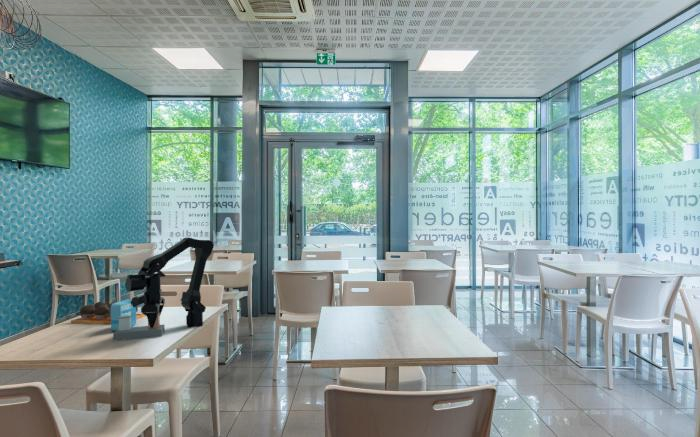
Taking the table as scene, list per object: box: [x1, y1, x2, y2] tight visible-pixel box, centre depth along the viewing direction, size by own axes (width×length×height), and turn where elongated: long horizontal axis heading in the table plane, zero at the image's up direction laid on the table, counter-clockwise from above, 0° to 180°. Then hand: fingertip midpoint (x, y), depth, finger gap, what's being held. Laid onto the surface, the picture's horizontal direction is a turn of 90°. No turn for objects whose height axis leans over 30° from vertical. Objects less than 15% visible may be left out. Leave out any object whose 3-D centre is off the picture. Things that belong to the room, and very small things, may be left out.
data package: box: [110, 299, 137, 332], centre depth 191 cm, size 12×4×12 cm, turn 175°
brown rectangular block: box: [147, 313, 161, 329], centre depth 179 cm, size 4×3×8 cm
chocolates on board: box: [70, 301, 147, 325], centre depth 209 cm, size 28×17×8 cm, turn 79°
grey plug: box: [118, 315, 131, 331], centre depth 176 cm, size 4×3×8 cm
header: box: [112, 324, 165, 341], centre depth 177 cm, size 18×8×3 cm, turn 105°
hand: (154, 325), depth 179 cm, fingers open, 9 cm apart
